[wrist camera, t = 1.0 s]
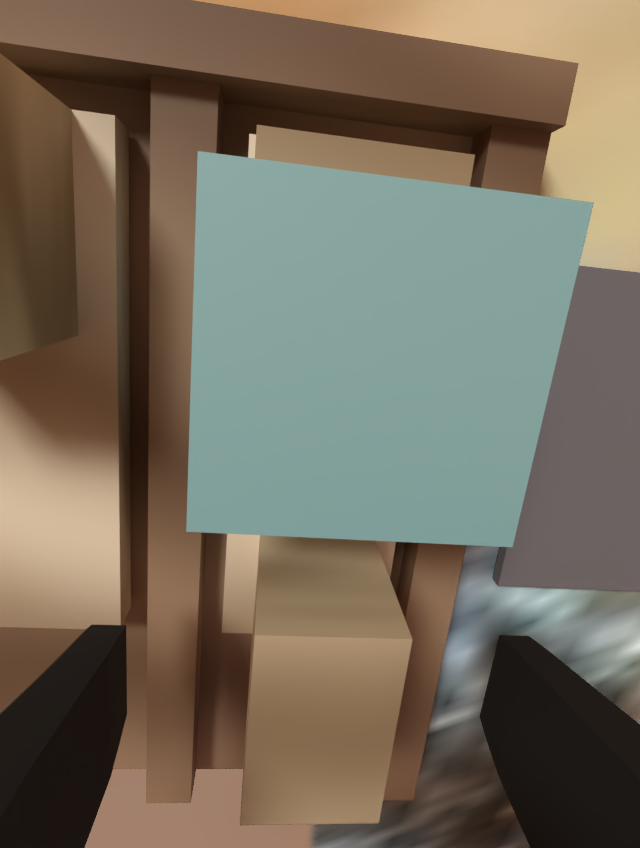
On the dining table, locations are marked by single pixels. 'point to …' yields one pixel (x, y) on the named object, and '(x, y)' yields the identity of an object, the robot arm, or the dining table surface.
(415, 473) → the cube
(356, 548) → the strip
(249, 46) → the lane board
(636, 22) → the dining table surface
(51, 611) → the strip
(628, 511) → the felt pad
